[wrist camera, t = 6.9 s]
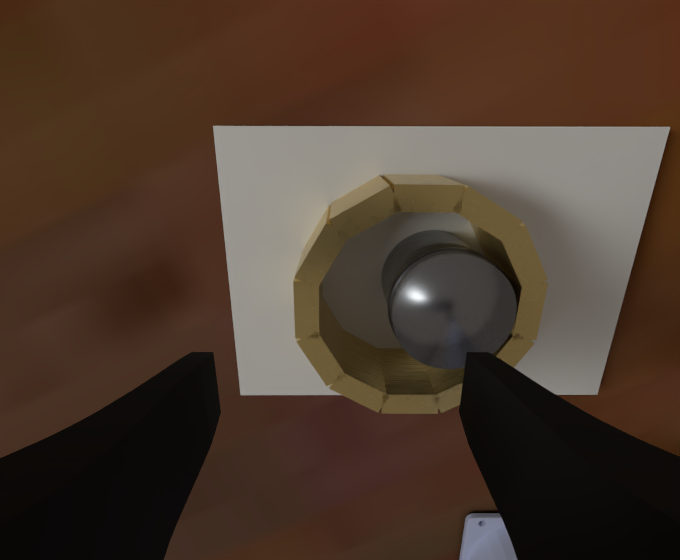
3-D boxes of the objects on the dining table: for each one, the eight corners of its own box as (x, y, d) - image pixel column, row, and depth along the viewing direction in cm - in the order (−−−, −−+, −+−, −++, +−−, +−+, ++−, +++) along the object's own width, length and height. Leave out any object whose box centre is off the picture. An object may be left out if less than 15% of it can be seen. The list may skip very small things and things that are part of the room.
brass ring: (519, 175, 18) (568, 185, 14) (488, 365, 21) (520, 414, 18) (300, 173, 18) (289, 183, 14) (304, 364, 21) (297, 413, 17)
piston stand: (653, 127, 18) (779, 123, 13) (586, 384, 23) (659, 456, 18) (219, 126, 18) (171, 122, 13) (244, 384, 23) (217, 456, 18)
